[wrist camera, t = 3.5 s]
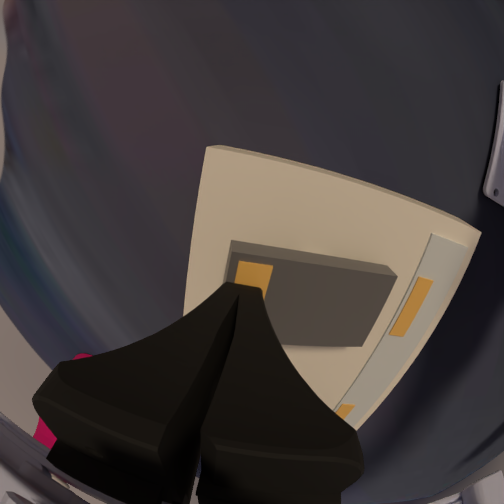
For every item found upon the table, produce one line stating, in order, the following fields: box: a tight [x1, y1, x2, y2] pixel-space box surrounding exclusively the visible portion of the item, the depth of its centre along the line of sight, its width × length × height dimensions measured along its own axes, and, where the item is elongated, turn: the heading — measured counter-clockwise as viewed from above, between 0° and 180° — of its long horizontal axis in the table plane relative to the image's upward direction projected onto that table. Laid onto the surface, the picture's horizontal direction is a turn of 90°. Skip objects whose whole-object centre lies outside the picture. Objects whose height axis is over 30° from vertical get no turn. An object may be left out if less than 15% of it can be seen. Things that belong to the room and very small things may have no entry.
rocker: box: [223, 240, 398, 347], centre depth 11 cm, size 7×4×1 cm, turn 78°
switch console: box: [183, 145, 482, 430], centre depth 16 cm, size 14×20×3 cm
